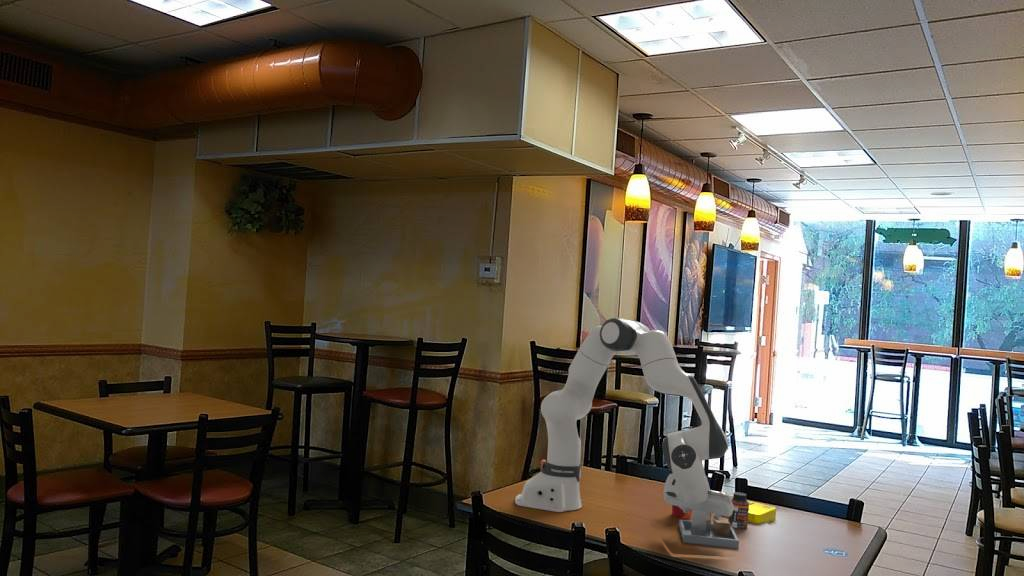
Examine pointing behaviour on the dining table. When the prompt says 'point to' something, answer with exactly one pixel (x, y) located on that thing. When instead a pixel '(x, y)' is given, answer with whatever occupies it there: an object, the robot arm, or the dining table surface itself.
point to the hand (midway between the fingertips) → (702, 514)
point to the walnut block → (721, 527)
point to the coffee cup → (680, 512)
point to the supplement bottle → (739, 511)
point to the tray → (707, 537)
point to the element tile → (760, 513)
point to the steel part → (700, 523)
